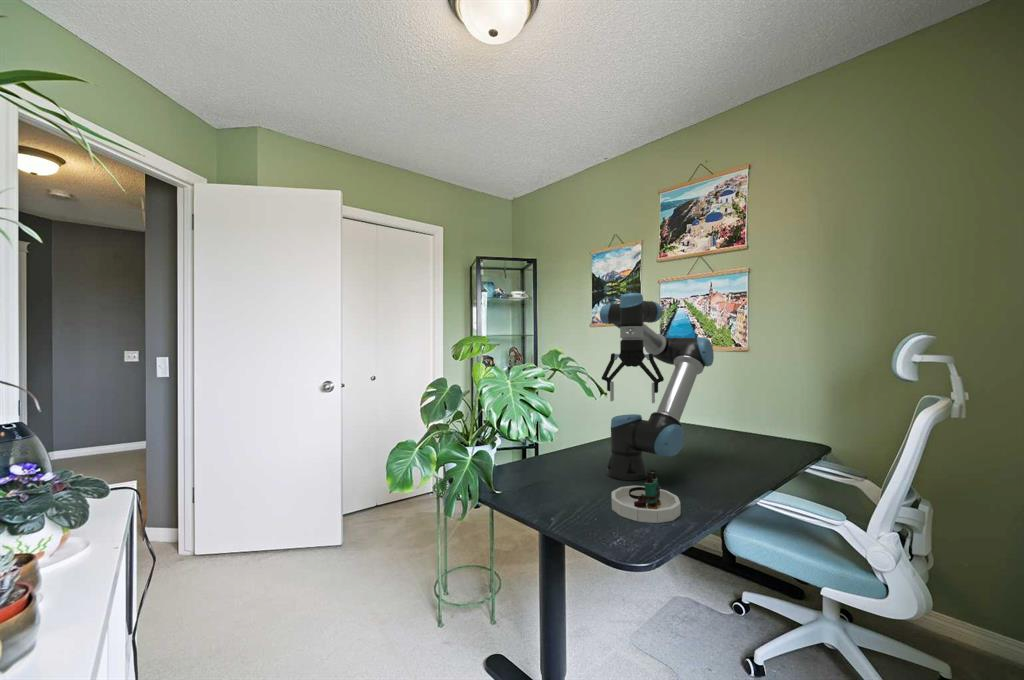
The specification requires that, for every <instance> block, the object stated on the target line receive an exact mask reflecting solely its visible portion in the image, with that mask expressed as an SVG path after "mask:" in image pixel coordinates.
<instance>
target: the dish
mask: <svg viewBox="0 0 1024 680" xmlns="http://www.w3.org/2000/svg"><path fill="white" fill-rule="evenodd" d="M635 487H645V485H628V486H620V487H618V488H617V489H614V490H613V491H611V510H612V511H613V512H614V513H616V514H617V515H618V516H620V517H623V518H625V519H628V520H632V521H635V522H639V523H640V522H641V523H653V524H661V523H666V522H667V523H668V522H673V521H675V520H676V519H677V518H678V517H680V516H681V510H682V509H681V501H680V499H679V497H678V496H677V495H676V494H674V493H672V492H670V491H668V490H666V489H662V488H661V489H660V497H659V500H660V501H661V505H657V507H658V509H649V508H648V506H647V504H649V503H646V506H647V507H645V506H644V507H635V506H634V502H635V501H638V499H634V498H631V497H630V496H629V490H630V489H632V488H635ZM630 494H632V495H635V496H641V494H644V495H645V491H644V490H636V491H632V492H631V493H630Z"/></svg>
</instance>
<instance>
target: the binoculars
mask: <svg viewBox="0 0 1024 680" xmlns="http://www.w3.org/2000/svg"><path fill="white" fill-rule="evenodd" d="M648 474H649V475H648ZM648 474H647V475H646V478H645V479H646V481H645V482H644V486H645V487H635V488H632V489H630V490H629V496H630V497H631V498H634V499H638V501H635V502H634V506H635V507H644V506H645V507H647V506H648V508H649V509H658V507H657V505H661V501H660V500H659V497H660V489H662V488H661V486H659V480H658V477H657V476H656V475H657V471H656V470H655V469H651V470H649V472H648ZM636 490H644V491H645V495H644V494H641V496H635V495H632V494H630V493H631V492H632V491H636ZM646 503H649V504H647V506H646Z"/></svg>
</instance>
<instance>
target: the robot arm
mask: <svg viewBox="0 0 1024 680" xmlns="http://www.w3.org/2000/svg"><path fill="white" fill-rule="evenodd" d="M662 316H663V307H662V306H661V304H659V303H658V302H655V301H653V300H650V301H649V300H644V297H643V294H642V293H640V292H634V293H633V292H630V293H629V292H628V293H623V294H621V295H620V297H619V302H618V303H608V304H604V305H602V306H601V308H600V311H599V319H600V321H601V322H602V323H603V324H606V325H614V326H615V327H617V328H618V329H619V330H620V331H619V332H620V333H619V335H620V336H619V338H620V339H621V340H620V341H619V342H620V343H619V344H620V345H619V346H620V347H619V348H620V350H619V351H620V352H619V353H613V352H612V353H611V354H610V359H609V362H608V364H607V366H606V368H605V370H604V372H603V374H602V376H601V380H602V381H606V390H607V392H609V394H610V395H609V396H610V398H609V401H610V402H614V401H615V398H614V397H615V395H614V394H615V393H614V391H615V389H614V387H615V383H614V381H612V380H613V379H614V378H615V377H616V376H617V375H618V373H619V372H620V371H621V370H622V369H623V368H624V367H627V368H629V367H634V368H635V367H640V368H641V369H642V371H644V373H645V374H646V375H647V376H648V377H649V379H651V381H652V383H651V404H655V403H656V394H658V393H659V383H662V382H664V380H665V378H664V376H663V374H662V372H661V370H660V368H659V367H658V365H657V363H656V361H655V359H656V360H658V361H660V362H662V363H665V364H668V365H673V366H674V369H673V371H672V375H671V376H670V379H669V381H668V384H667V386H666V388H665V391H664V393H663V396H662V397H661V401H660V403H659V405H658V407H657V410H656V411H654V412H652V413H651V414H650V416H649V418H648V420H646V419H643V417H642V415H641V414H631V413H629V414H622V415H620V414H619V415H615V416H613V417H612V418H611V420H610V421H611V422H610V448H611V449H610V450H611V451H610V457H609V460H608V463H607V467H606V474H607V476H609V477H610V476H611V477H610V478H613V479H616V478H617V479H616V480H620V479H621V480H620V481H632V482H633V481H640V480H645V479H647V478H646V475H648V469H647V467H646V463H645V461H644V458H643V453H648V454H652V455H657V456H660V457H671V458H672V457H675V456H676V455H678V454H679V452H680V451H681V449H682V448H683V446H684V442H685V439H684V438H685V431H684V428H683V424H682V423H681V418H682V416H683V414H684V413H683V412H684V410H685V407H686V404H687V402H688V399H689V397H690V394H691V392H692V389H693V387H694V384H695V381H696V379H697V376H698V375H700V374H702V373H703V371H704V369H705V367H707V368H708V367H711V366H712V365H713V363H714V358H715V357H714V355H715V354H714V348H713V345H712V342H711V341H710V339H709V338H707V337H700V336H697V337H667V336H664V335H663V334H661V333H657V332H655V331H654V330H653V329H651V327H649V326H648V325H647V324H646V323H650V324H651V323H657V321H659V320H660V319H661V318H662ZM644 351H645V352H646V354H645V352H644ZM618 358H619V359H620V363H619V364H618V366H617V367H616V368H614V369H615V370H614V371H612V373H611V374H610V371H611V370H612V368H613V365H614V363H615V361H616V360H618ZM645 358H646V360H647V361H649V363H650V365H651V367H652V369H653V370H654V372H655V374H654V373H653V372H652V371H651V370H650V369H649V368H648V367H647V365H646V364H645V363H644V359H645ZM656 376H657V377H656Z"/></svg>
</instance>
